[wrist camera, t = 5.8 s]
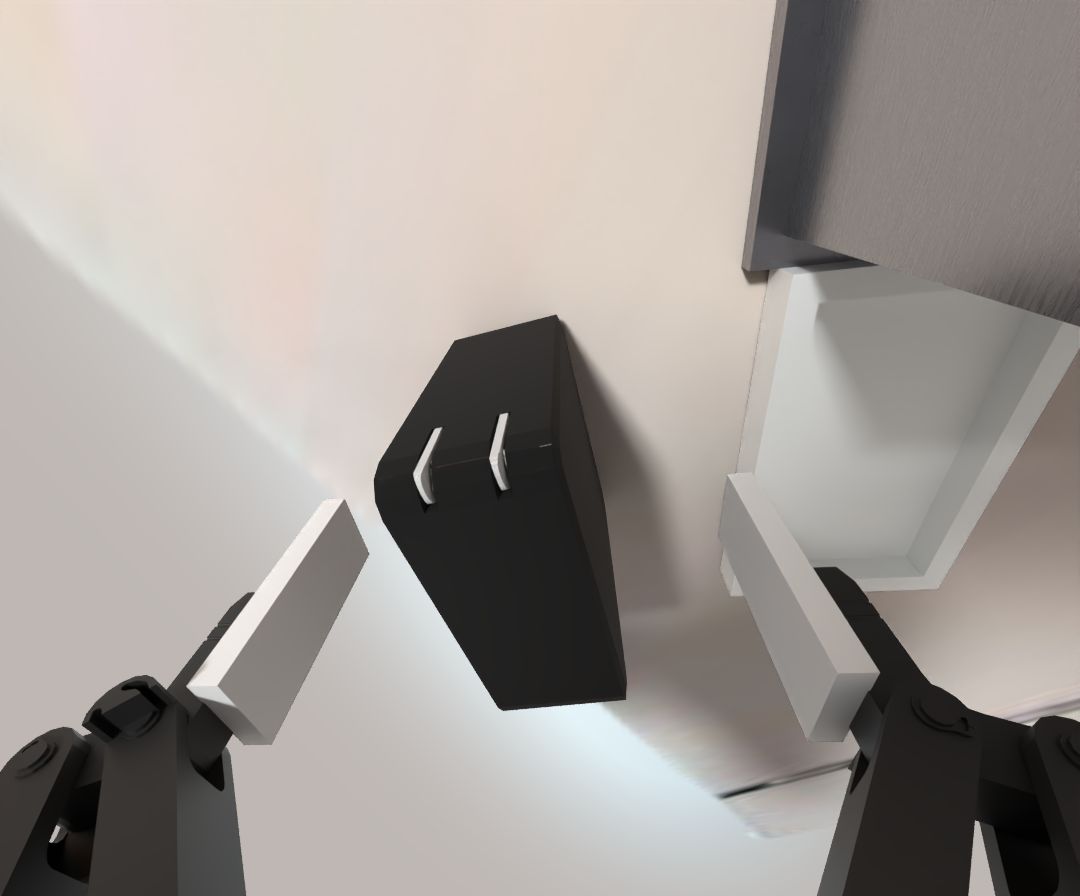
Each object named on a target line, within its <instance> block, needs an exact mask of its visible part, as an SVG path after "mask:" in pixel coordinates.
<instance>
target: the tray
mask: <svg viewBox="0 0 1080 896" xmlns="http://www.w3.org/2000/svg"><path fill="white" fill-rule="evenodd" d="M1079 349H1080V327H1079V326H1076V325H1072V324H1069V323H1066V322H1063V321H1059V320H1056V319H1053V318H1050V317H1046V316H1043V315H1040V314H1037V313H1033V312H1030V311H1027V310H1024V309H1020V308H1017V307H1014V306H1011V305H1007V304H1004V303H1001V302H998V301H994V300H991V299H988V298H985V297H981V296H978V295H975V294H972V293H968V292H965V291H962V290H959V289H955V288H952V287H949V286H946V285H942V284H939V283H936V282H933V281H929V280H926V279H923V278H920V277H916V276H913V275H910V274H907V273H904V272H900V271H897V270H894V269H891V268H887V267H884V266H881V265H878V264H874V263H871V262H868V261H865V260H855V261H846V262H836V263H827V264H818V265H809V266H799V267H790V268H781V269H771V270H770V271H769V277H768V283H767V289H766V295H765V301H764V307H763V313H762V319H761V325H760V331H759V337H758V343H757V349H756V355H755V362H754V368H753V374H752V380H751V386H750V392H749V398H748V404H747V410H746V416H745V422H744V428H743V434H742V440H741V446H740V452H739V458H738V464H737V470H736V473H749V472H752V474H753V475H754V477H755V478H756V480H757V482H758V483H759V485H760V486H761V488H762V489H763V491H764V492H765V494H766V496H767V497H768V499H769V500H770V502H771V503H772V505H773V506H774V508H775V510H776V511H777V513H778V514H779V516H780V517H781V519H782V520H783V522H784V524H785V525H786V527H787V528H788V530H789V531H790V533H791V535H792V536H793V538H794V539H795V541H796V542H797V544H798V545H799V547H800V549H801V550H802V552H803V553H804V555H805V556H806V558H807V559H808V561H809V563H810V564H811V566H812V567H837V568H839V569H840V570H841V571H843V572H844V573H845V574H846V575H848V576H849V577H850V578H852V579H853V580H854V581H855V582H856V583H857V584H858V586H859V587H860V588H861V590H862V591H863V592H871V591H899V590H927V589H938V588H939V586H940V585H941V583H942V581H943V579H944V578H945V576H946V574H947V573H948V571H949V569H950V568H951V566H952V564H953V563H954V561H955V559H956V557H957V556H958V554H959V552H960V551H961V549H962V547H963V546H964V544H965V542H966V540H967V539H968V537H969V535H970V534H971V532H972V530H973V529H974V527H975V525H976V524H977V522H978V520H979V518H980V517H981V515H982V513H983V512H984V510H985V508H986V507H987V505H988V503H989V501H990V500H991V498H992V496H993V495H994V493H995V491H996V490H997V488H998V486H999V485H1000V483H1001V481H1002V479H1003V478H1004V476H1005V474H1006V473H1007V471H1008V469H1009V468H1010V466H1011V464H1012V462H1013V461H1014V459H1015V457H1016V456H1017V454H1018V452H1019V451H1020V449H1021V447H1022V446H1023V444H1024V442H1025V440H1026V439H1027V437H1028V435H1029V434H1030V432H1031V430H1032V429H1033V427H1034V425H1035V423H1036V422H1037V420H1038V418H1039V417H1040V415H1041V413H1042V412H1043V410H1044V408H1045V407H1046V405H1047V403H1048V401H1049V400H1050V398H1051V396H1052V395H1053V393H1054V391H1055V390H1056V388H1057V386H1058V384H1059V383H1060V381H1061V379H1062V378H1063V376H1064V374H1065V373H1066V371H1067V369H1068V368H1069V366H1070V364H1071V362H1072V361H1073V359H1074V357H1075V356H1076V354H1077V352H1078V351H1079ZM720 571H721V573H722V576H723V578H724V581H725V584H726V586H727V589H728V591H729V594H730V596H744V595H743V592H742V590H741V588H740V585H739V583H738V581H737V579H736V576H735V574H734V572H733V569H732V567H731V565H730V562H729V560H728V558H727V555H726V553H725V551H724V549H723V554H722V560H721V567H720Z"/></svg>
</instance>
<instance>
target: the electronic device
mask: <svg viewBox="0 0 1080 896" xmlns="http://www.w3.org/2000/svg"><path fill="white" fill-rule="evenodd" d="M374 491H375V503H376V505H377V508H378V510H379V513H380V515H381V518H382V521H383V523H384V524H385V526H386V527H387V529H388V531H389V532H390V534H391V536H392V537H393V539H394V540H395V542H396V544H397V545H398V547H399V548H400V550H401V552H402V553H403V555H404V557H405V558H406V560H407V561H408V563H409V565H410V566H411V568H412V569H413V571H414V573H415V574H416V576H417V578H418V579H419V581H420V582H421V584H422V586H423V587H424V589H425V590H426V592H427V594H428V595H429V597H430V598H431V600H432V602H433V603H434V605H435V607H436V608H437V610H438V611H439V613H440V615H441V616H442V618H443V619H444V621H445V622H446V624H447V626H448V628H449V629H450V631H451V632H452V634H453V636H454V637H455V639H456V640H457V642H458V644H459V645H460V647H461V648H462V650H463V652H464V653H465V655H466V657H467V658H468V660H469V661H470V663H471V665H472V666H473V668H474V670H475V671H476V673H477V674H478V676H479V678H480V679H481V681H482V682H483V684H484V686H485V687H486V689H487V690H488V692H489V694H490V695H491V697H492V699H493V700H494V702H495V703H496V705H497V707H498V708H499V709H501V710H503V711H507V710H518V709H529V708H540V707H551V706H562V705H574V704H585V703H596V702H607V701H618V700H626V688H627V678H626V669H625V661H624V654H623V646H622V638H621V630H620V622H619V614H618V606H617V598H616V590H615V582H614V574H613V566H612V558H611V550H610V542H609V534H608V526H607V518H606V511H605V504H604V498H603V494H602V489H601V485H600V481H599V477H598V473H597V469H596V464H595V460H594V456H593V452H592V448H591V444H590V439H589V435H588V431H587V427H586V423H585V419H584V415H583V410H582V406H581V402H580V398H579V394H578V390H577V385H576V381H575V377H574V373H573V369H572V365H571V360H570V356H569V352H568V348H567V344H566V340H565V336H564V332H563V328H562V325H561V323H560V321H559V319H558V317H557V315H553V316H549V317H545V318H541V319H537V320H533V321H529V322H526V323H522V324H518V325H514V326H510V327H506V328H502V329H498V330H494V331H490V332H486V333H482V334H479V335H475V336H471V337H467V338H463V339H459V340H455V341H454V342H453V344H452V346H451V347H450V349H449V351H448V352H447V354H446V355H445V357H444V359H443V360H442V362H441V363H440V365H439V367H438V368H437V370H436V371H435V373H434V375H433V376H432V378H431V380H430V381H429V383H428V384H427V386H426V388H425V389H424V391H423V392H422V394H421V396H420V397H419V399H418V400H417V402H416V404H415V405H414V407H413V409H412V410H411V412H410V413H409V415H408V417H407V418H406V420H405V421H404V423H403V425H402V426H401V428H400V429H399V431H398V433H397V434H396V436H395V438H394V439H393V441H392V442H391V444H390V446H389V447H388V449H387V450H386V452H385V454H384V455H383V457H382V458H381V460H380V462H379V464H378V467H377V471H376V474H375V477H374Z"/></svg>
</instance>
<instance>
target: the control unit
mask: <svg viewBox="0 0 1080 896" xmlns="http://www.w3.org/2000/svg"><path fill="white" fill-rule="evenodd" d="M855 260H865V261H868V262H871V263H874V264H878V265H881V266H884V267H887V268H891V269H894V270H897V271H900V272H904V273H907V274H910V275H913V276H916V277H920V278H923V279H926V280H929V281H933V282H936V283H939V284H942V285H946V286H949V287H952V288H955V289H959V290H962V291H965V292H968V293H972V294H975V295H978V296H981V297H985V298H988V299H991V300H994V301H998V302H1001V303H1004V304H1007V305H1011V306H1014V307H1017V308H1020V309H1024V310H1027V311H1030V312H1033V313H1037V314H1040V315H1043V316H1046V317H1050V318H1053V319H1056V320H1059V321H1063V322H1066V323H1069V324H1072V325H1076V326H1079V327H1080V0H777V2H776V10H775V17H774V25H773V33H772V40H771V48H770V55H769V63H768V71H767V78H766V86H765V93H764V101H763V108H762V116H761V124H760V131H759V139H758V146H757V154H756V161H755V169H754V177H753V184H752V192H751V199H750V207H749V215H748V222H747V230H746V237H745V245H744V252H743V260H742V268H744V269H745V270H747V271H749V272H753V271H762V270H771V269H781V268H790V267H799V266H809V265H818V264H827V263H836V262H846V261H855Z"/></svg>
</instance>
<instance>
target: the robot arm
mask: <svg viewBox="0 0 1080 896" xmlns="http://www.w3.org/2000/svg"><path fill="white" fill-rule="evenodd" d="M718 537H719V539H720V542H721V544H722V546H723V549H724V551H725V553H726V555H727V558H728V560H729V562H730V565H731V567H732V569H733V572H734V574H735V576H736V579H737V581H738V583H739V585H740V588H741V590H742V592H743V595H744V597H745V599H746V602H747V604H748V606H749V608H750V611H751V613H752V615H753V618H754V620H755V622H756V625H757V627H758V629H759V631H760V634H761V636H762V638H763V641H764V643H765V645H766V648H767V650H768V652H769V654H770V657H771V659H772V661H773V664H774V666H775V668H776V671H777V673H778V675H779V678H780V680H781V682H782V684H783V687H784V689H785V691H786V694H787V696H788V698H789V701H790V703H791V705H792V707H793V710H794V712H795V714H796V717H797V719H798V721H799V724H800V726H801V728H802V730H803V733H804V735H805V737H806V740H807V742H843V741H844V739H845V737H846V735H847V733H848V731H849V730H850V729H851V731H852V733H853V735H854V737H855V739H856V741H857V743H858V745H859V747H860V749H859V751H858V753H857V754H856V756H855V758H854V759H853V761H852V763H851V764H850V766H849V768H848V769H849V770H851V771H852V773H851V777H850V780H849V784H848V788H847V791H846V795H845V798H844V802H843V805H842V809H841V812H840V816H839V819H838V823H837V827H836V830H835V834H834V837H833V841H832V844H831V848H830V852H829V855H828V858H827V862H826V866H825V869H824V873H823V876H822V880H821V883H820V887H819V890H818V894H817V896H968V893H969V881H970V870H971V858H972V847H973V836H974V825H975V824H974V823H975V820H976V821H979V822H980V826H981V831H982V836H983V840H984V845H985V850H986V854H987V859H988V863H989V868H990V872H991V877H992V882H993V886H994V891H995V895H996V896H1080V722H1078V721H1076V720H1073V719H1069V718H1064V717H1059V716H1048V717H1041V718H1040V719H1039V720H1038V721H1037V722H1036V723H1035V724H1034V725H1033V726H1032V727H1031V726H1027V725H1023V724H1020V723H1016V722H1012V721H1008V720H1005V719H1001V718H997V717H993V716H990V715H986V714H982V713H979V712H977V711H974V710H971V709H968V708H967V707H966V706H965V705H964V704H963V703H962V702H961V701H960V700H958V699H957V698H956V697H955V696H953V695H952V694H950V693H948V692H947V691H945V690H943V689H942V688H940V687H938V686H935V685H932V684H931V683H930V682H929V681H928V680H927V678H926V677H925V676H924V675H923V674H922V672H921V671H920V670H919V668H918V667H917V665H916V664H915V663H914V661H913V660H912V659H911V657H910V656H909V654H908V653H907V652H906V650H905V649H904V648H903V646H902V645H901V643H900V642H899V641H898V639H897V638H896V637H895V635H894V634H893V632H892V631H891V630H890V628H889V627H888V626H887V624H886V623H885V621H884V620H883V619H881V618H880V616H879V613H878V612H877V610H876V609H875V608H874V606H873V605H872V603H869V599H868V598H867V597H866V595H865V594H864V592H863V591H862V590H861V588H860V587H859V586H858V584H857V583H856V582H855V581H854V580H853V579H852V578H850V577H849V576H848V575H846V574H845V573H844V572H843V571H841V570H840V569H839V568H837V567H812V566H811V564H810V563H809V561H808V559H807V558H806V556H805V555H804V553H803V552H802V550H801V549H800V547H799V545H798V544H797V542H796V541H795V539H794V538H793V536H792V535H791V533H790V531H789V530H788V528H787V527H786V525H785V524H784V522H783V520H782V519H781V517H780V516H779V514H778V513H777V511H776V510H775V508H774V506H773V505H772V503H771V502H770V500H769V499H768V497H767V496H766V494H765V492H764V491H763V489H762V488H761V486H760V485H759V483H758V482H757V480H756V478H755V477H754V475H753V474H752V472H749V473H733V474H727V478H726V485H725V492H724V499H723V506H722V513H721V520H720V527H719V534H718ZM368 556H369V552H368V550H367V547H366V545H365V543H364V541H363V539H362V536H361V534H360V532H359V530H358V528H357V525H356V523H355V521H354V519H353V516H352V514H351V512H350V510H349V508H348V505H347V503H346V501H345V499H328V500H324V501H323V502H322V503H321V505H320V506H319V507H318V509H317V510H316V511H315V513H314V514H313V515H312V517H311V518H310V520H309V521H308V522H307V524H306V525H305V526H304V528H303V529H302V530H301V532H300V533H299V535H298V536H297V537H296V538H295V540H294V541H293V543H292V544H291V545H290V547H289V548H288V549H287V550H286V552H285V553H284V555H283V556H282V557H281V559H280V560H279V561H278V563H277V564H276V566H275V567H274V568H273V570H272V571H271V572H270V574H269V575H268V576H267V578H266V579H265V580H264V582H263V583H262V584H261V586H260V587H259V588H258V590H257V591H256V592H251V593H247V594H246V595H245V596H243V597H242V598H241V599H240V600H239V601H237V602H236V603H235V604H234V605H233V606H231V607H230V608H229V610H228V611H227V612H226V614H225V615H224V616H223V618H222V619H221V620H220V621H219V623H218V626H217V627H215V628H214V629H213V630H212V632H211V633H210V634H209V636H208V637H207V638H208V639H207V641H204V642H203V644H202V645H201V646H200V647H199V649H198V650H197V651H196V653H195V654H194V655H193V656H192V658H191V659H190V660H189V662H188V663H187V664H186V665H185V667H184V668H183V669H182V671H181V672H180V673H179V675H178V676H177V677H176V678H175V680H174V681H173V682H172V684H171V685H170V686H169V687H168V689H167V690H166V689H164V687H162V686H161V684H159V683H158V682H157V681H156V680H155V679H154V678H153V677H150V676H148V675H143V676H136V677H133V678H131V679H128V680H126V681H124V682H122V683H120V684H119V685H117V686H115V687H114V688H112V689H111V690H109V691H108V692H107V693H105V694H104V695H103V696H102V697H101V698H100V699H99V700H98V701H97V702H96V703H95V704H94V705H93V706H92V708H91V709H90V710H89V711H88V713H87V714H86V716H85V718H84V721H83V723H82V726H83V727H85V728H86V729H87V730H89V731H90V732H92V733H91V734H88V735H85V736H82V735H80V734H79V733H78V732H76V731H75V730H74V729H72V728H68V727H61V728H57V729H53V730H50V731H49V732H47V733H45V734H43V735H41V736H39V737H37V738H35V739H34V740H33V741H31V742H30V743H28V744H27V745H26V746H25V747H23V748H22V749H21V750H20V751H19V752H17V754H15V756H13V757H12V758H11V759H10V760H9V761H8V762H7V764H6V765H5V766H4V768H3V769H2V770H1V772H0V896H246V890H245V882H244V873H243V864H242V855H241V847H240V837H239V828H238V819H237V810H236V802H235V792H234V783H233V774H232V765H231V757H230V753H229V751H228V749H227V748H226V747H225V746H226V744H227V743H228V741H229V739H230V738H231V736H232V734H234V735H235V736H236V737H237V738H238V739H239V740H240V741H241V742H242V743H243V744H244V745H271V744H272V743H273V741H274V739H275V737H276V735H277V733H278V731H279V729H280V727H281V725H282V723H283V721H284V719H285V718H286V716H287V714H288V712H289V710H290V708H291V706H292V704H293V702H294V700H295V698H296V696H297V694H298V692H299V690H300V688H301V686H302V684H303V682H304V680H305V679H306V677H307V675H308V673H309V671H310V669H311V667H312V665H313V663H314V661H315V659H316V657H317V655H318V653H319V651H320V649H321V647H322V645H323V643H324V641H325V639H326V638H327V635H328V634H329V632H330V630H331V628H332V626H333V624H334V622H335V620H336V618H337V616H338V614H339V612H340V610H341V608H342V606H343V604H344V602H345V600H346V598H347V596H348V595H349V593H350V591H351V588H352V587H353V585H354V583H355V581H356V579H357V577H358V575H359V573H360V571H361V569H362V567H363V565H364V563H365V561H366V559H367V558H368ZM56 825H57V826H59V827H61V828H60V830H59V832H58V835H57V837H56V838H55V840H54V841H53V843H50V842H49V841H50V839H51V836H52V834H53V832H54V829H55V827H56Z"/></svg>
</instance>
